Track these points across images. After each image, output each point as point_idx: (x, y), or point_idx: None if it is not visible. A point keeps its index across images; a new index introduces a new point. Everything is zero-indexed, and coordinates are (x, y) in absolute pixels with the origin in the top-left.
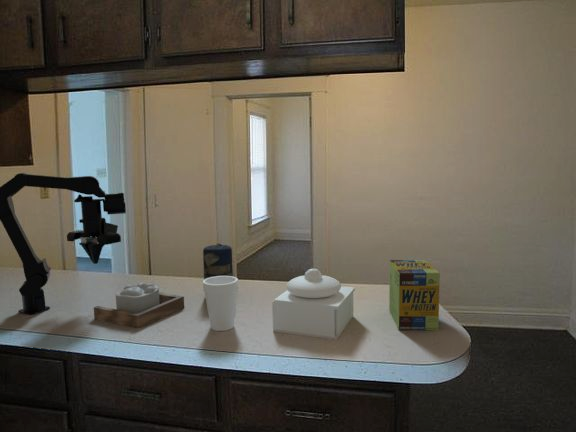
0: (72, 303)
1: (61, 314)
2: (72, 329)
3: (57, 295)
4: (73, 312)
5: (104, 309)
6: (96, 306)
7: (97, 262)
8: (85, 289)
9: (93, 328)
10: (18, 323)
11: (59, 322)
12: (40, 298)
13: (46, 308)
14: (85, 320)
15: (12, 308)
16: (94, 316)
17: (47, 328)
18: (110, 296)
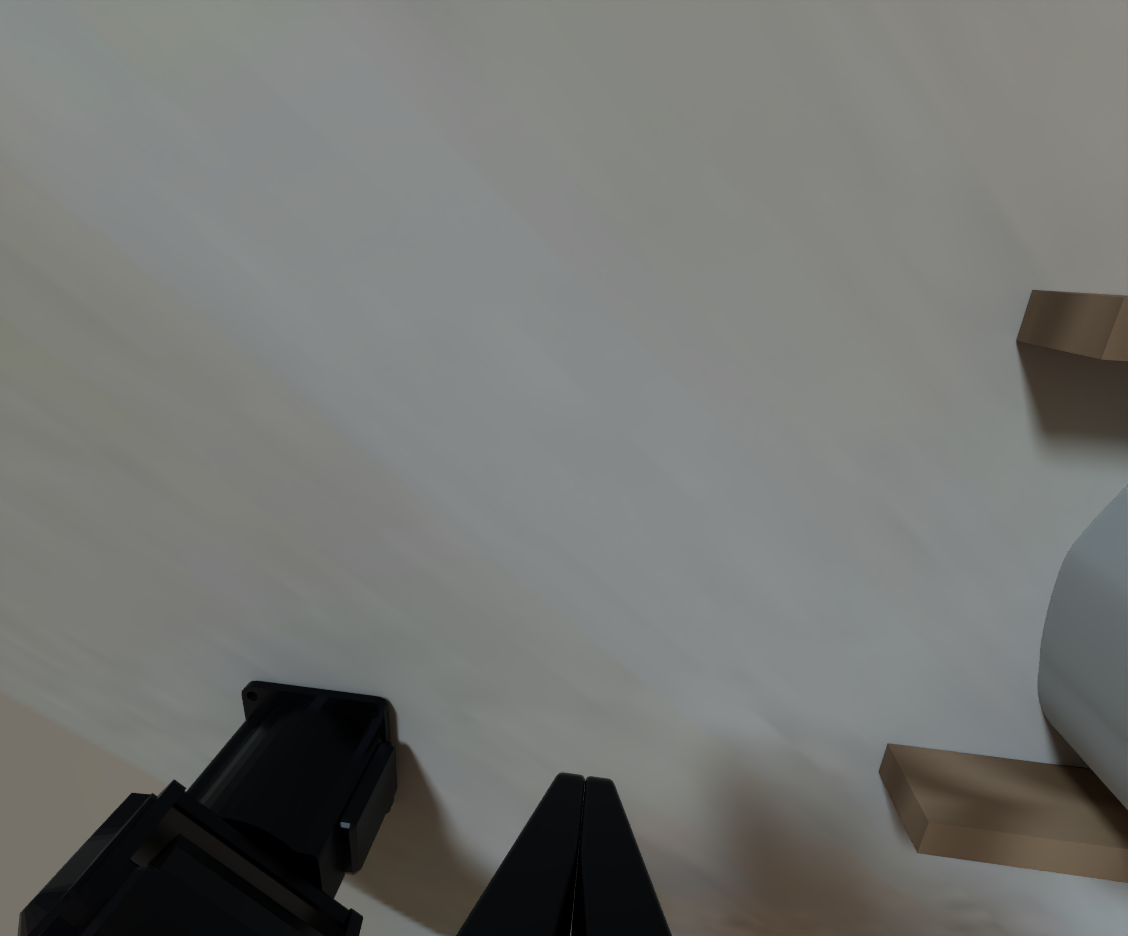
0: (419, 565)
1: (566, 753)
2: (862, 910)
3: (98, 444)
4: (613, 709)
5: (1052, 870)
6: (927, 834)
7: (618, 801)
8: (119, 194)
9: (992, 881)
10: (462, 897)
11: (683, 850)
12: (361, 845)
13: (386, 729)
14: (830, 798)
15: (152, 741)
16: (889, 788)
17: (696, 920)
18: (574, 299)
